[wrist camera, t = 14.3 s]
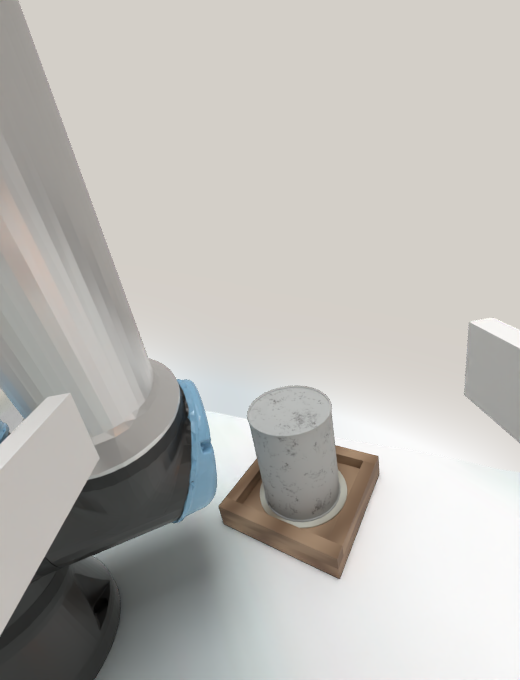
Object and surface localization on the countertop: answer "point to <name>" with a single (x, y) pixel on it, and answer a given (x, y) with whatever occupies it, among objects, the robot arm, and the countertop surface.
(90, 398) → the robot arm
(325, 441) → the speckled white cylinder
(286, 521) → the walnut seat tray
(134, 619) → the countertop surface
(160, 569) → the countertop surface
